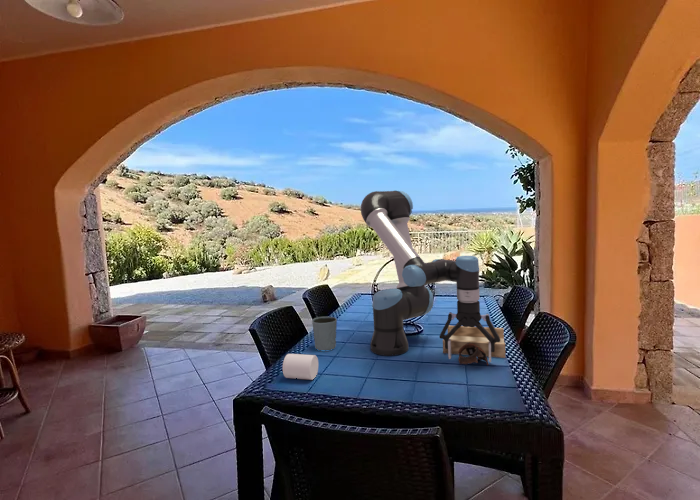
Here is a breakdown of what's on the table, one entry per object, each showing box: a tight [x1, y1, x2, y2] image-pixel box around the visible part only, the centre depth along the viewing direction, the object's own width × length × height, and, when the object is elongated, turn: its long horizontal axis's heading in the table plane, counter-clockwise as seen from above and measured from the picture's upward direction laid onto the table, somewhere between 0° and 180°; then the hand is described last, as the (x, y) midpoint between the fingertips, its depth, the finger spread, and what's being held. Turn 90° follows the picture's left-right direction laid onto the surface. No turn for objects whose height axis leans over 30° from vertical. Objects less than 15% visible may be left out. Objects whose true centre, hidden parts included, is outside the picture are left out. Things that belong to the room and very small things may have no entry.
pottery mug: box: [458, 342, 489, 366], centre depth 133 cm, size 12×10×8 cm
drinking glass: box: [311, 315, 338, 351], centre depth 156 cm, size 10×10×12 cm
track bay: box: [442, 324, 506, 359], centre depth 149 cm, size 22×19×5 cm
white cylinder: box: [282, 353, 319, 381], centre depth 131 cm, size 12×10×8 cm
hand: (469, 359), depth 134 cm, fingers open, 13 cm apart
